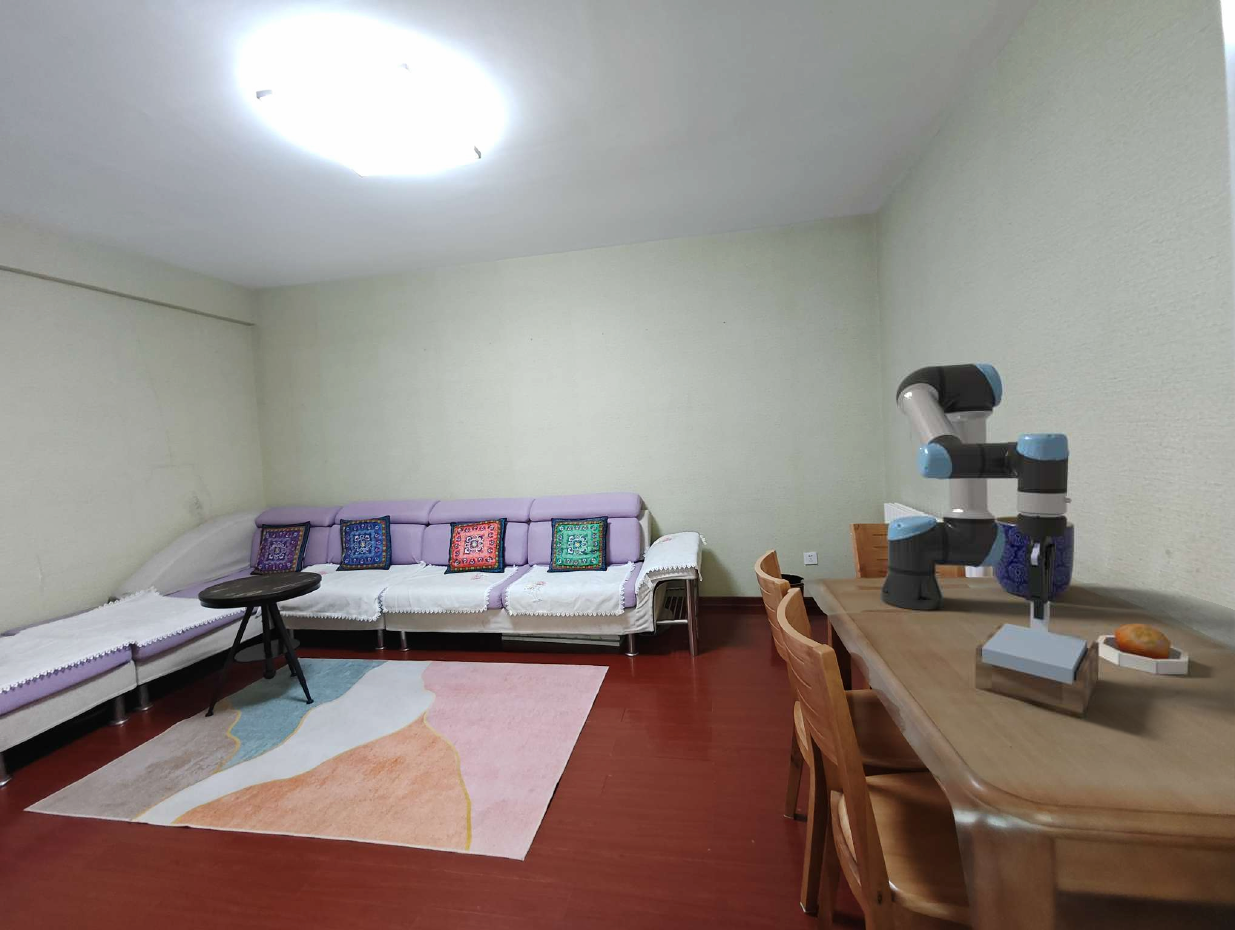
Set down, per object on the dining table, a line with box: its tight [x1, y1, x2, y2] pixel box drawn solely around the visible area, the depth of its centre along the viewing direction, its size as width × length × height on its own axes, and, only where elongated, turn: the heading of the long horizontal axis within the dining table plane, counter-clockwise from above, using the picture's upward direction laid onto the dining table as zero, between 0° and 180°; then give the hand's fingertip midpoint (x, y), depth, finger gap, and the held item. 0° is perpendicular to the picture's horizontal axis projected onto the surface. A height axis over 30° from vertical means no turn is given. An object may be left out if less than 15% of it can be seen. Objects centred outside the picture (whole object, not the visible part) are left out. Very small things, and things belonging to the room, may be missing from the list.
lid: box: [982, 622, 1088, 684], centre depth 97 cm, size 17×12×2 cm
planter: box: [992, 515, 1075, 599], centre depth 151 cm, size 18×18×21 cm
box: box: [974, 622, 1100, 719], centre depth 99 cm, size 18×15×8 cm
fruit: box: [1114, 623, 1172, 659], centre depth 108 cm, size 8×8×8 cm
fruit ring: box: [1096, 634, 1190, 675], centre depth 108 cm, size 13×13×2 cm
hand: (1039, 633), depth 104 cm, fingers closed
